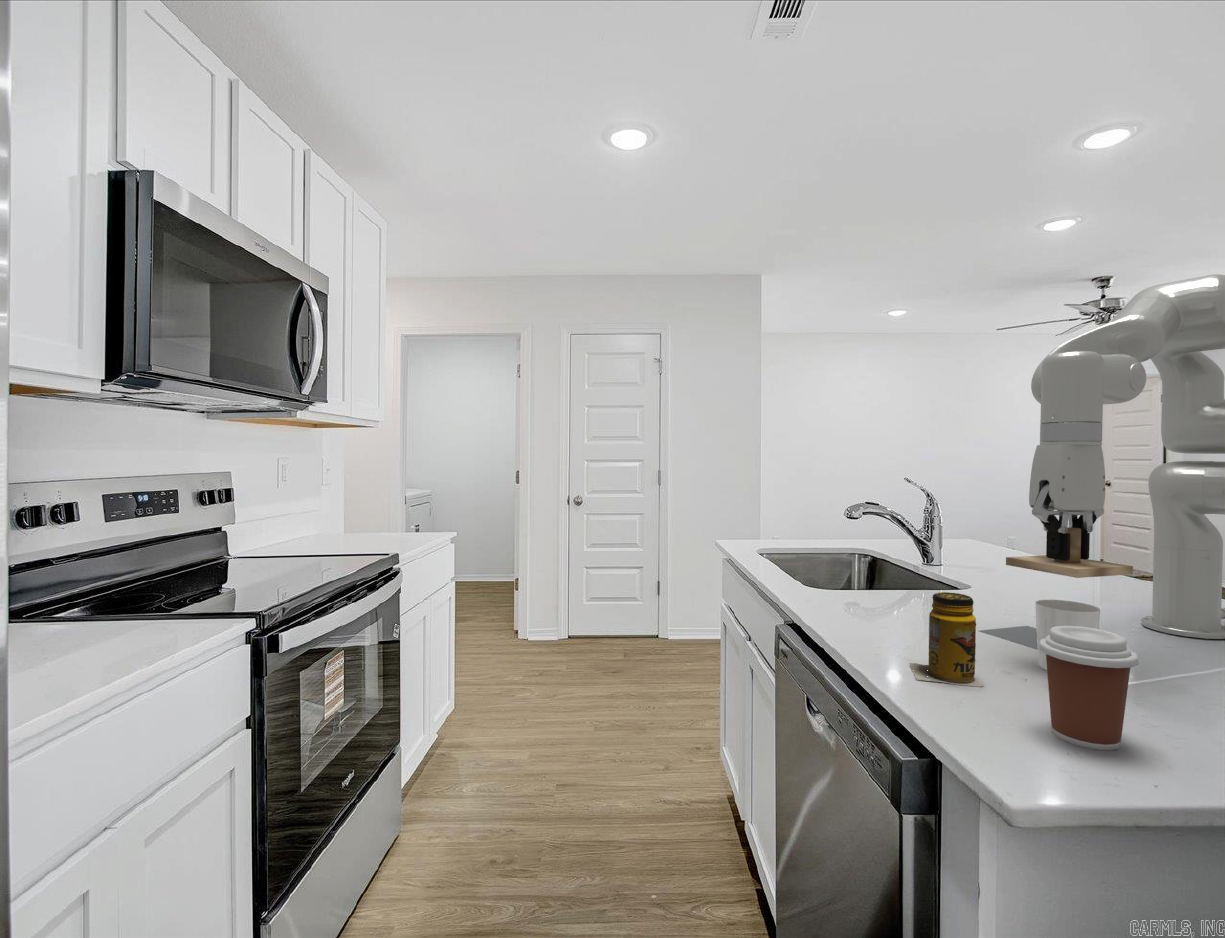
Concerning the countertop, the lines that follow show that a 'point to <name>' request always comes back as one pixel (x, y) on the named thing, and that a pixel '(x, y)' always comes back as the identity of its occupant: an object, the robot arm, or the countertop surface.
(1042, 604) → the white cup
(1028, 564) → the lid
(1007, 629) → the mat
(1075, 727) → the coffee cup
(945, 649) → the condiment
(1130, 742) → the countertop surface
